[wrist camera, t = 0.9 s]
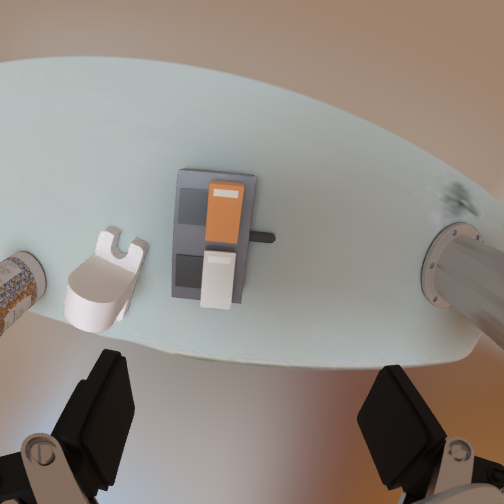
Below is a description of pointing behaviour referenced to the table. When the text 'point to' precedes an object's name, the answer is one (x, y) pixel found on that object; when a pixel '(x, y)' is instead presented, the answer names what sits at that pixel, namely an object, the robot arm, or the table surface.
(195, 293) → the rocker switch box
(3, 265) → the bath foam
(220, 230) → the rocker orange
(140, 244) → the cable organizer
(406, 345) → the table surface
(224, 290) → the rocker grey
